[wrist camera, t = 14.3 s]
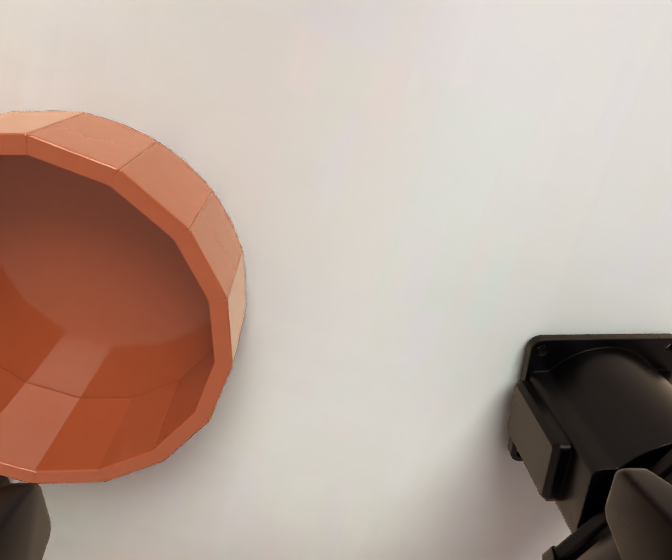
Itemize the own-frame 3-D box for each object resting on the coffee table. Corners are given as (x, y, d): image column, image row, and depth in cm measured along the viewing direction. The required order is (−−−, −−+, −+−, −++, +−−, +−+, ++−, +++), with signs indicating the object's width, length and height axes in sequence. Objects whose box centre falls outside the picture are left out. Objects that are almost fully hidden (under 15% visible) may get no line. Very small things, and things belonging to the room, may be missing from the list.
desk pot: (235, 112, 18) (214, 134, 14) (253, 402, 23) (241, 479, 19) (-136, 108, 18) (-269, 131, 14) (-35, 406, 23) (-110, 487, 19)
